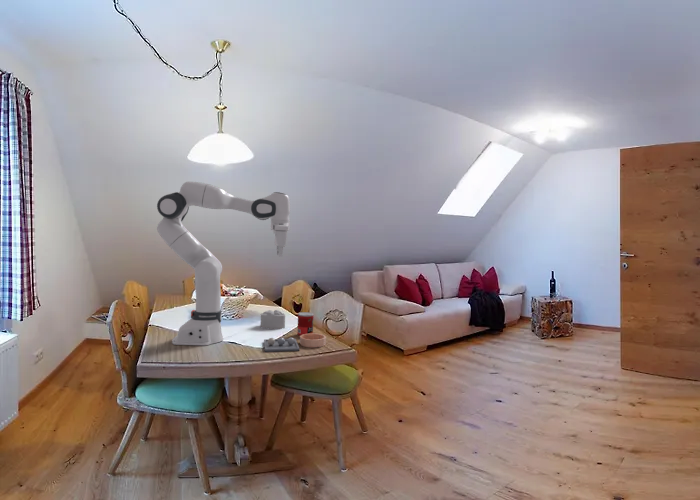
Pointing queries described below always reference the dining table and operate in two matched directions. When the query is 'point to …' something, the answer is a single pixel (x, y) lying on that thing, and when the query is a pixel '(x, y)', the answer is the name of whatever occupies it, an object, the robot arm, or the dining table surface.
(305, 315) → the canned food
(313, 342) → the bowl
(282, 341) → the pebble
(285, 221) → the robot arm
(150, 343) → the dining table surface
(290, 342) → the pebble
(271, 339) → the pebble
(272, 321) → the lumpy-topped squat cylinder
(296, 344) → the tray
